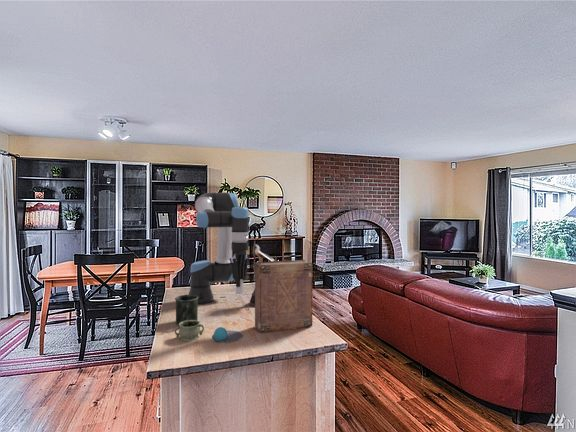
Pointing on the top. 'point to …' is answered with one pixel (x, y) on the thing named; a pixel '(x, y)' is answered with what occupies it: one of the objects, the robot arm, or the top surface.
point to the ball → (220, 334)
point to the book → (283, 295)
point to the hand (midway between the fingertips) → (239, 293)
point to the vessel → (189, 330)
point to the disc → (231, 336)
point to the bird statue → (261, 256)
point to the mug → (186, 308)
